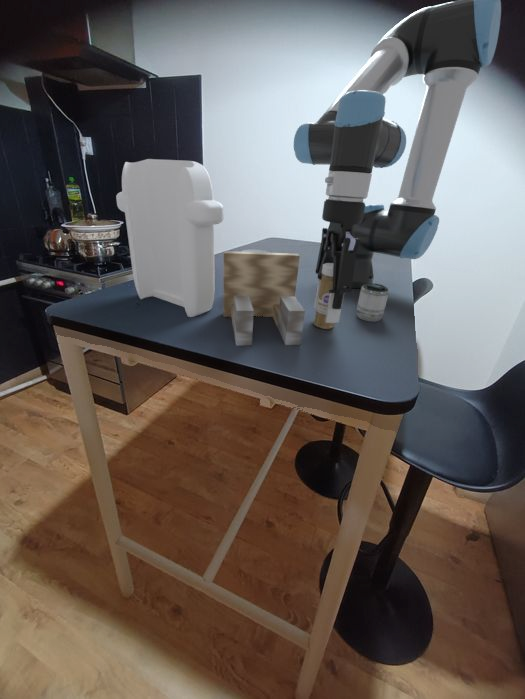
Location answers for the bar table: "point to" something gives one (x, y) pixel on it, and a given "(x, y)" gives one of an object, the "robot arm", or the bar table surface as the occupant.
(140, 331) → the bar table surface
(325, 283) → the sprinkles bottle
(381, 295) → the camera lens
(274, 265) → the headboard stand
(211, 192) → the white contoured slab
